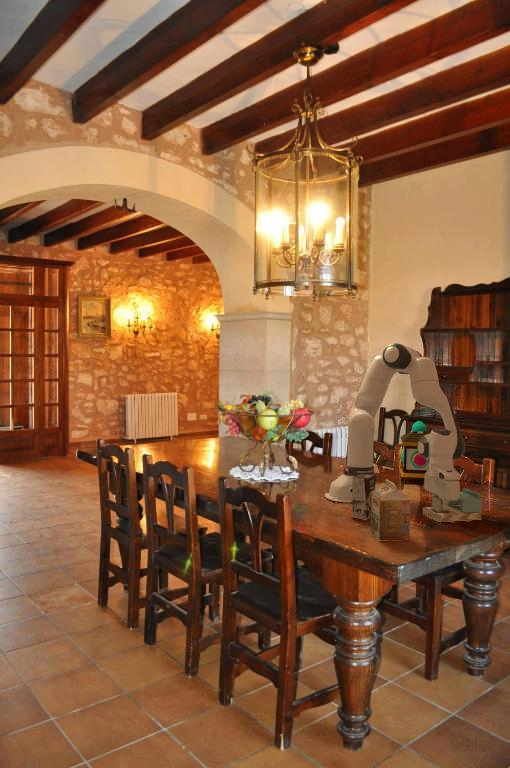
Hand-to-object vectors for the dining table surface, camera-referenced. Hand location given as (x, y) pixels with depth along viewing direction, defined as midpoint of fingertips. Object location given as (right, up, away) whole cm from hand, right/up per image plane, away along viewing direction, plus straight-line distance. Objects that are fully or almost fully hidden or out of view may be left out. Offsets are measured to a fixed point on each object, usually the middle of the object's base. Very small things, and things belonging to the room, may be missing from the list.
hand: (440, 507), depth 234 cm
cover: (+10, -1, +2) cm, 10 cm away
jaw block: (0, -2, 0) cm, 2 cm away
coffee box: (-29, -4, +2) cm, 30 cm away
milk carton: (-25, -6, -23) cm, 34 cm away
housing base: (+5, -4, +1) cm, 7 cm away
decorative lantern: (+10, -1, +68) cm, 69 cm away
